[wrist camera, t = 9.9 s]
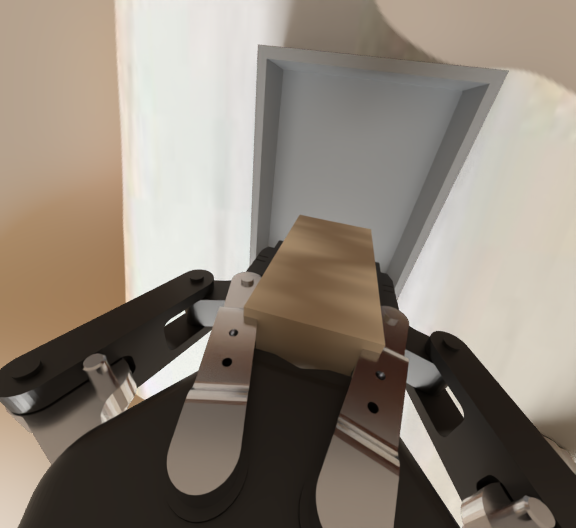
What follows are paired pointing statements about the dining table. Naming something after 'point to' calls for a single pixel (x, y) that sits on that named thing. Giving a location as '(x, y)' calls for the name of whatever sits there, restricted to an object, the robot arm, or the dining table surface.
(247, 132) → the dining table surface
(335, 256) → the wooden block
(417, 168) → the bin
